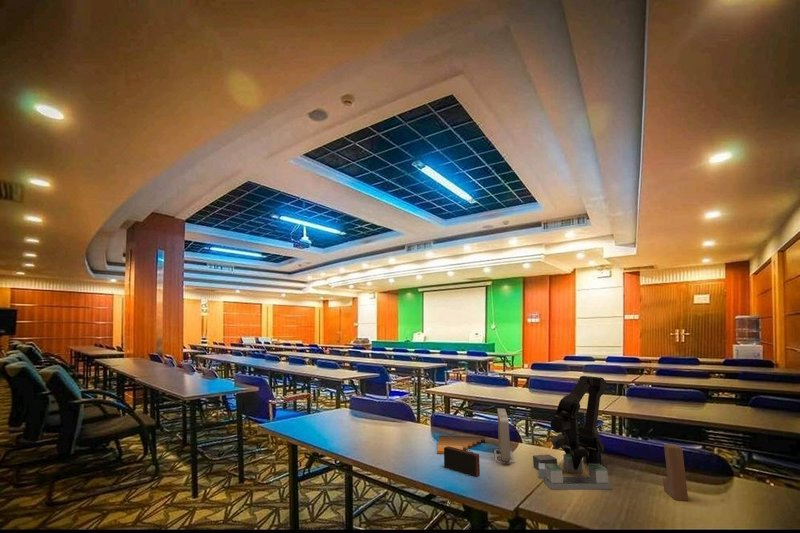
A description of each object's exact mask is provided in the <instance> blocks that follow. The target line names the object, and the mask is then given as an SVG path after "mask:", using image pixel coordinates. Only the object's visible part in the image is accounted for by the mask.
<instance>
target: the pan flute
mask: <svg viewBox="0 0 800 533" xmlns="http://www.w3.org/2000/svg"><path fill="white" fill-rule="evenodd" d="M448 436H449V437H448ZM448 436H447V434H446V435H445V434H443V435H441V434H440V435H438V441H437V455H444V448H445V447H447V446H449V447H453V448H457V449H461V450H465V451H469V450H470V449H473V447H475V448H476V447H478V445H479V446H482V444H486V437H485V436H477V435H476V436H473V435H472V436H471V435H448ZM450 437H451V438H452V439H451V438H450ZM453 439H454V440H455V441H454V440H453ZM456 441H457V442H458V443H457V442H456ZM459 443H460V444H461V445H460V444H459ZM462 445H463V446H464V447H463V446H462ZM465 447H466V448H467V449H466V448H465ZM468 449H469V450H468Z"/></svg>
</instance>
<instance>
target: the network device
mask: <svg viewBox="0 0 800 533" xmlns="http://www.w3.org/2000/svg"><path fill="white" fill-rule="evenodd" d="M496 410H497V434H498V446H499V448H496V449H494V450H493V455H494V461H495V463H498V464H506V465H513V464H515V462H516V460H515V458H514V454H513V451H512V450H511V448H510V447H511V445H510V424H509V423H510V421H509V418H508V414H507V411H506V409H505V408H496ZM497 452H499V453H497ZM498 458H500V459H501V460H498Z"/></svg>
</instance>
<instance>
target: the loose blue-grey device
mask: <svg viewBox="0 0 800 533" xmlns="http://www.w3.org/2000/svg"><path fill="white" fill-rule="evenodd" d="M544 477H545V463H539V471H538V479H541V478H543V479H542V480H544Z"/></svg>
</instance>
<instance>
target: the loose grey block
mask: <svg viewBox="0 0 800 533" xmlns="http://www.w3.org/2000/svg"><path fill="white" fill-rule="evenodd" d="M539 463H545V464H557V465H558V458H556V457H554V456H553V455H550V454H538V455H532V465H533V466H532V467H533V468H534V469H535V470H537V471H538V472H539Z"/></svg>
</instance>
